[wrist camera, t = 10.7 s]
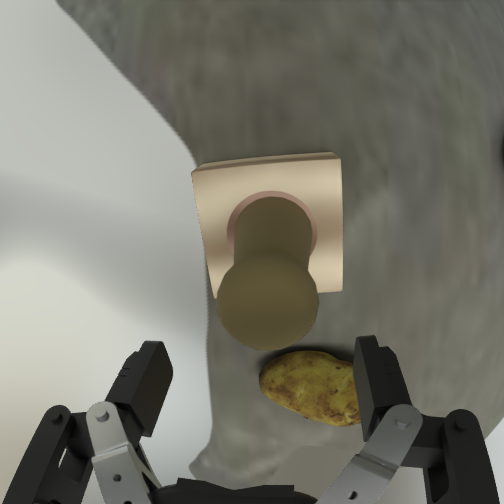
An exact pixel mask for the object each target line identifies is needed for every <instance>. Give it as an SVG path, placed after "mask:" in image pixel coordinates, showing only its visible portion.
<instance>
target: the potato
mask: <svg viewBox="0 0 504 504" xmlns="http://www.w3.org/2000/svg"><path fill="white" fill-rule="evenodd" d="M259 385H260V389H261V391H262V393H263V394H264V395H265V396H266V397H268V398H269V399H271V400H272V401H274V402H276V403H278V404H279V405H281V406H283V407H285V408H288V409H290V410H292V411H295V412H297V413H299V414H301V415H303V416H304V417H305V418H307V419H308V418H310V419H312V420H315V421H320V422H324V423H327V424H330V425H334V426H351V425H354V424H358V423H361V418H360V412H359V406H358V400H357V394H356V388H355V383H354V377H353V363H352V362H349V361H343V360H338V359H336V358H335V357H333V356H332V355H330V354H328V353H325V352H320V351H296V352H291V353H287V354H284V355H282V356H280V357H277V358H275V359H273V360H271V361H269V362H267V363H266V364H265V365H264V366H263V368H262V370H261V372H260V374H259Z"/></svg>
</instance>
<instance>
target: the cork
mask: <svg viewBox="0 0 504 504" xmlns="http://www.w3.org/2000/svg"><path fill="white" fill-rule="evenodd" d="M312 234H313V231H312V226H311V221H310V219H309V218H308V216H307V214H306V212H305V211H304V210H303V209H302V208H301V207H300V206H299V205H297V204H296V203H295V202H293V201H290V200H288V199H286V198H283V197H273V196H269V197H265V198H260V199H257V200H255V201H254V202H252V203H250V204H248V205H247V206H246V207H245V208H244V209H243V211H242V212H241V213H240V214H239V216H238V219H237V221H236V224H235V234H234V264H233V266H232V267H231V268H230V269H229V270H228V271H227V272H226V273H225V274H224V277H223V279H222V282H221V284H220V286H219V289H218V292H217V312H218V315H219V318H220V320H221V323H222V325H223V326H224V328H225V329H226V330H227V331H228V332H229V334H230V335H231V336H232V337H233V338H234V339H235V340H237V341H238V342H240V343H241V344H243V345H245V346H248V347H251V348H253V349H257V350H267V351H271V350H278V349H283V348H286V347H288V346H291V345H293V344H295V343H296V342H297V341H299V340H300V339H301V338H302V337H304V336H305V335H306V334H307V333H308V332H309V330H310V329H311V327H312V326H313V324H314V323H315V320H316V316H317V311H318V307H319V299H318V293H317V287H316V283H315V281H314V280H313V278H312V276H311V275H310V273H309V271H308V266H309V259H310V251H311V243H312Z"/></svg>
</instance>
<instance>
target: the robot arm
mask: <svg viewBox="0 0 504 504" xmlns="http://www.w3.org/2000/svg"><path fill="white" fill-rule="evenodd" d="M172 377H173V367H172V364H171V362H170V359H169V356H168V353H167V351H166V348H165V346H164V343H163V342H162V341H145V342H144V343H143V344H142V347H141V348H140V350H139V352H136V351H135V352H134V353H133V354H132V355H130V356H129V357H128V358H127V359H126V361H125V363H124V365H123V367H122V369H121V370H120V372H119V374H118V376H117V378H116V380H115V382H114V383H113V386H112V387H111V389H110V391H109V393H108V395H107V397H106V399H105V401H103V402H98V403H96V404H95V405H93V406H91V407H90V408H89V410H88V411H87V412H81V413H71V412H70V411H69V409H68V408H67V407H65V406H63V405H56V406H53V407H51V408H50V409H49V410H47V412H46V413H45V415H44V417H43V418H42V420H41V422H40V424H39V426H38V428H37V430H36V432H35V434H34V436H33V438H32V440H31V442H30V444H29V446H28V448H27V450H26V452H25V454H24V456H23V458H22V460H21V462H20V464H19V466H18V469H17V471H16V473H15V475H14V478H13V480H12V482H11V484H10V486H9V489H8V491H7V493H6V496H5V498H4V501H3V503H2V504H81V502H82V499H83V496H84V493H85V490H86V487H87V484H88V481H89V479H90V476H91V473H92V470H93V467H94V471H95V474H96V477H97V481H98V483H99V487H100V490H101V493H102V496H103V499H104V502H105V504H375V503H376V502H377V500H378V499H379V497H380V496H381V494H382V493H383V491H384V490H385V488H386V486H387V485H388V484H389V482H390V480H391V479H392V477H393V476H394V474H395V472H396V471H397V469H398V468H399V466H406V467H417V468H423V475H424V482H425V490H426V498H427V504H500V502H499V497H498V492H497V487H496V483H495V479H494V474H493V470H492V467H491V463H490V459H489V455H488V452H487V448H486V445H485V441H484V438H483V435H482V431H481V428H480V425H479V422H478V419H477V418H476V416H475V415H474V414H473V413H472V412H470V411H468V410H464V409H458V410H454V411H452V412H450V413H449V414H448V415H447V417H446V418H443V417H431V416H426V415H423V414H421V413H420V411H419V410H418V409H417V408H415V407H413V405H412V403H411V400H410V397H409V394H408V390H407V387H406V384H405V381H404V378H403V375H402V372H401V369H400V366H399V363H398V360H397V357H396V354H395V353H394V352H393V351H392V350H391V349H390V348H389V347H388V346H386V347H379V345H378V342H377V339H376V336H375V335H370V336H360V337H357V338H356V343H355V352H354V360H353V377H354V383H355V388H356V394H357V400H358V406H359V412H360V418H361V425H362V431H363V438H364V442H367V443H366V444H365V446H364V447H363V449H362V450H361V451H360V453H359V454H356V455H355V456H354V457H353V458H352V459H351V461H350V462H349V463H348V464H347V466H346V467H345V468H344V470H343V471H342V472H341V473H340V475H339V476H338V477H337V478H336V480H335V481H334V482H333V483H332V485H331V486H330V487H329V488H328V489H327V491H326V492H325V493H324V494H323V495H322V496H321V498H320V499H319V500H317V499H316V498H314V497H311V496H309V495H307V494H304V493H300V492H296V491H294V485H262V486H256V487H251V488H245V489H238V490H231V489H227V488H224V487H221V486H218V485H215V484H212V483H209V482H206V481H200V480H191V479H185V478H178V480H177V484H173V485H168V486H165V487H162V486H161V484H160V483H159V481H158V480H157V478H156V476H155V475H154V472H153V470H152V468H151V466H150V464H149V462H148V459H147V457H146V455H145V453H144V450H143V448H142V446H141V444H140V442H139V441H140V438H141V436H145V437H151V436H152V433H153V430H154V428H155V424H156V422H157V419H158V416H159V414H160V411H161V408H162V405H163V403H164V400H165V397H166V395H167V392H168V389H169V386H170V384H171V381H172ZM65 448H66V449H67V450H66V453H65V455H64V457H63V460H62V462H61V465H60V467H59V461H60V459H61V457H62V454H63V452H64V449H65Z"/></svg>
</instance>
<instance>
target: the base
mask: <svg viewBox="0 0 504 504" xmlns="http://www.w3.org/2000/svg"><path fill="white" fill-rule="evenodd" d="M191 176H192V182H193V188H194V194H195V199H196V204H197V211H198V217H199V222H200V228H201V233H202V239H203V244H204V249H205V254H206V260H207V265H208V270H209V275H210V280H211V285H212V290H213V295H214V298H217V292H218V289H219V286H220V284H221V282H222V279H223V277H224V274H225V273H226V272H227V271H228V270H229V269H230V268H231V267H232V266H233V264H234V234H235V224H236V221H237V219H238V216H239V214H240V213H241V212H242V211H243V209H244V208H245V207H246V206H247V205H248V204H250V203H252V202H254V201H255V200H257V199H260V198H265V197H269V196H273V197H283V198H286V199H288V200H290V201H293V202H295V203H296V204H297V205H299V206H300V207H301V208H302V209H303V210H304V211H305V212H306V214H307V216H308V218H309V219H310V221H311V226H312V231H313V234H312V243H311V251H310V259H309V266H308V271H309V273H310V275H311V276H312V278H313V280H314V281H315V283H316V287H317V293H321V292H335V291H342V277H343V209H342V178H341V159H340V158H339V157H338V156H336V155H335V154H334V153H333V152H322V153H305V154H290V155H278V156H266V157H255V158H245V159H236V160H227V161H219V162H211V163H203V164H202V165H201V166H199V167H198V168H196V169H195V170H194V171H192V172H191Z"/></svg>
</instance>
